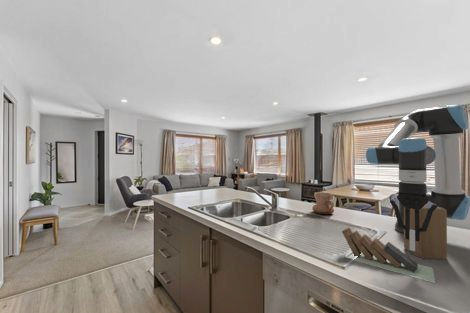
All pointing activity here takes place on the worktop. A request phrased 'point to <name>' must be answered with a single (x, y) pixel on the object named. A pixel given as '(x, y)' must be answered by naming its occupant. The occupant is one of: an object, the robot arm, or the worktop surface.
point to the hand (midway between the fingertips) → (412, 249)
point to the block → (429, 234)
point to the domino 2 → (367, 243)
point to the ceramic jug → (323, 203)
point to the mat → (400, 268)
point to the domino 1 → (361, 245)
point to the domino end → (351, 242)
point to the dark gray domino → (401, 257)
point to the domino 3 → (384, 252)
